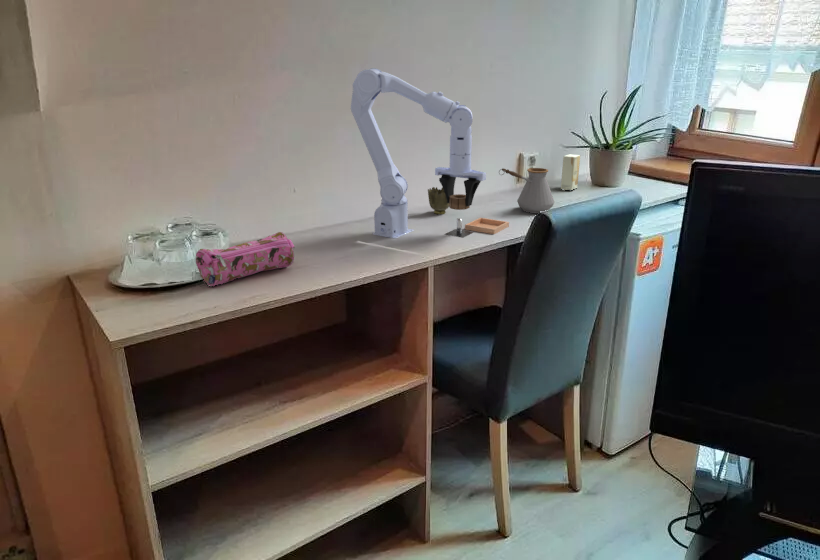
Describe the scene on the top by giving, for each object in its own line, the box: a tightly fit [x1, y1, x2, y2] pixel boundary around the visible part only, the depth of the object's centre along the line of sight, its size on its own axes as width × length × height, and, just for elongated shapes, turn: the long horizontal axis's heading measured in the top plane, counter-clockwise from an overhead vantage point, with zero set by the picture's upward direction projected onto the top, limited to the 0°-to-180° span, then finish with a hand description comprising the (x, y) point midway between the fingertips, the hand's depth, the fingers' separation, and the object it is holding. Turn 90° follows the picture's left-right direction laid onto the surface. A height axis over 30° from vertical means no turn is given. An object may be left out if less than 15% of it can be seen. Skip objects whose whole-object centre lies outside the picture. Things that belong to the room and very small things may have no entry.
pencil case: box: [195, 231, 295, 287], centre depth 141 cm, size 21×9×9 cm, turn 130°
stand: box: [444, 217, 475, 238], centre depth 171 cm, size 6×6×5 cm
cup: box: [427, 186, 450, 216], centre depth 191 cm, size 8×7×8 cm
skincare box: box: [560, 153, 581, 191], centre depth 221 cm, size 6×4×12 cm
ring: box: [448, 193, 471, 211], centre depth 168 cm, size 5×5×3 cm
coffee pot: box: [498, 167, 555, 214], centre depth 191 cm, size 21×12×15 cm, turn 125°
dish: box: [464, 217, 510, 235], centre depth 176 cm, size 9×9×2 cm
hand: (459, 204), depth 168 cm, fingers closed on ring, 5 cm apart
